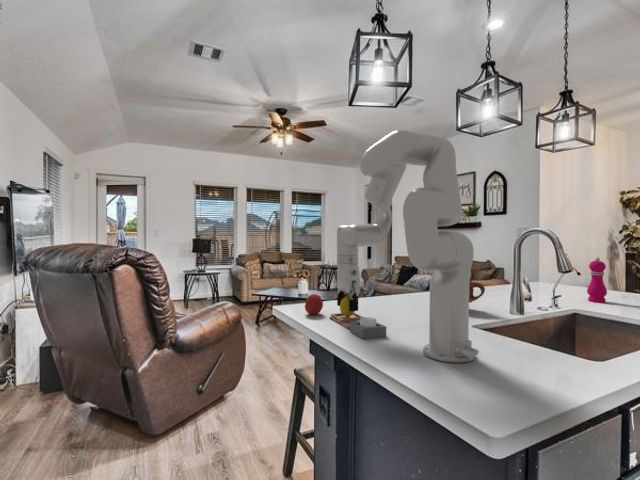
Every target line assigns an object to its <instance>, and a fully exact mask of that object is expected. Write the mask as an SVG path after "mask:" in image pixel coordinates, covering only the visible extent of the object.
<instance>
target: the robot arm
mask: <svg viewBox="0 0 640 480" xmlns="http://www.w3.org/2000/svg"><path fill="white" fill-rule="evenodd" d="M456 155H457V153H456V149H455V147H454V145H453V143H452V142H451V141H450V140H449V139H447V138H444V137H440V136H436V135H432V134H431V135H430V134H426V133H422V132H421V133H420V132H416V131H415V132H414V131H411V130H403V129H399V130H395V131H392V132H390V133H389V134H387V135H385V136H384V137H383V138H381V139H380V140H378V141H377V142H375V143H374V144H373V145H371V146H370V147H368V149H366V151H365V152H364V154H363V155H362V157H361V159H360V163H359V164H360V165H359V166H360V171H361V173H362V175H363V176H365V177H367V178H370V181H369V182H368V185H367V188H366V190H365V192H364V197H365V200H366V201H367V202H368V203H370V204H371V205H372V206H374V207H376V208H377V215H376V217H375V220H374V222H373V224H351V225H350V224H349V225H339V226H337V228H336V264H337V271H336V281H335V285H336V291H337V292H336V295H337V298H336V299H337V300H336V302H337V306H338V307H340V303H341V300H342V299H343V298H344V297H346V296H347V294H348V296H349V297H350V299H351V300H349V311H355V312H358V311H359V300H360V295H361V294H360V293H361V277H360V268H359V248H364V247H378V246H380V245H381V244H382V243H383V242H384V241H385V240H386V238H387V236H388V234H389V232H390V229H391V227H392V224H393V213H392V212H393V211H392V208H391V201H392V199H393V197H394V195H395V193H396V191H397V188H398V186H399V184H400V183H401V179H402V178H403V175H404V174H405V171H406V168H407V165H410V166H412V165H413V166H424V170H423V173H422V181H423V187H418V188H415V189H412V190H411V191H410V192H409V193H408V194H407V196H406V197H405V200H404V202H403V207H402V217H403V226H404V235H405V244H406V251H407V255H408V256H407V257H408V258H409V261H410V262H411V264H412V266H414V267H415V268H416V269H418V270H420V271H433V272H432V275H431V278H430V282H429V308H428V309H429V313H428V314H429V316H428V317H429V319H428V320H429V321H428V322H429V325H428V327H429V328H428V330H429V333H428V334H429V335H428V339H429V340H428V342H429V343H427V344H425V345H424V346H422V347H423V348H422V353H423V354H424V355H425V357H428V358H431V359H432V360H436V361H440V362H447V363H468V362H471V361H473V360H475V359H476V356H478V355H479V351H480V350H478V349H476V348H473V347H472V340H470V339H469V336H470V335H469V330H470V328H469V325H470V321H469V320H470V317H469V316H470V314H469V313H470V311H469V310H470V309H469V308H470V305H469V304H470V303H469V281H470V277H471V271H472V266H473V261H474V255H475V254H474V246H473V243H472V241H471V239H470V238H469V237H468V236H467V235H466V234H464V233H462V232H459V231H456V230H455V231H454V230H453V231H452V230H440V231H439V229H438V227H449V226H453V225H456V224H457V223H458V222H459V221H460V220H461V217H462V213H463V208H462V199H461V195H460V194H461V192H460V184H459V179H458V175H457V174H458V173H457V161H456V160H457V157H456Z"/></svg>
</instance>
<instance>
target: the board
mask: <svg viewBox="0 0 640 480" xmlns="http://www.w3.org/2000/svg"><path fill="white" fill-rule="evenodd" d="M360 318H365V317H364V316H363V315H361V314H357V313H356V312H354V314H353V315H352V316H350V317H349V318H347V317H346V316H344V315H343V314H342V313H341V312H338V313H330V316H329V319H330V320H331V321H333V322H335V323H337V324H338V325H340V326H341V327H344V328H346V329H348V330H350V331H351V323H354V322H360Z"/></svg>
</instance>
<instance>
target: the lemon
mask: <svg viewBox="0 0 640 480" xmlns="http://www.w3.org/2000/svg"><path fill="white" fill-rule="evenodd" d="M349 300H351V299H350V296H349V295H346V297H344V298H343V299H342V300H341V303H340V306H339V310H340V313H342V314H343V315H344V316H346V317H347V318H349V317H350V316H352V315H353V314H354V313H356V311H349Z"/></svg>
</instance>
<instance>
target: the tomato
mask: <svg viewBox="0 0 640 480" xmlns="http://www.w3.org/2000/svg"><path fill="white" fill-rule="evenodd" d="M303 302H304V303H305V304H304V309H305V312H306V313H308V314H309V315H313V316H316V315H318V314H319V313H321V311H322V309H323V306H324V300H323V299H322V297H321V295H318V294H317V293H311V294H310V295H308V296H307V298H306V300H304V301H303Z"/></svg>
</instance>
